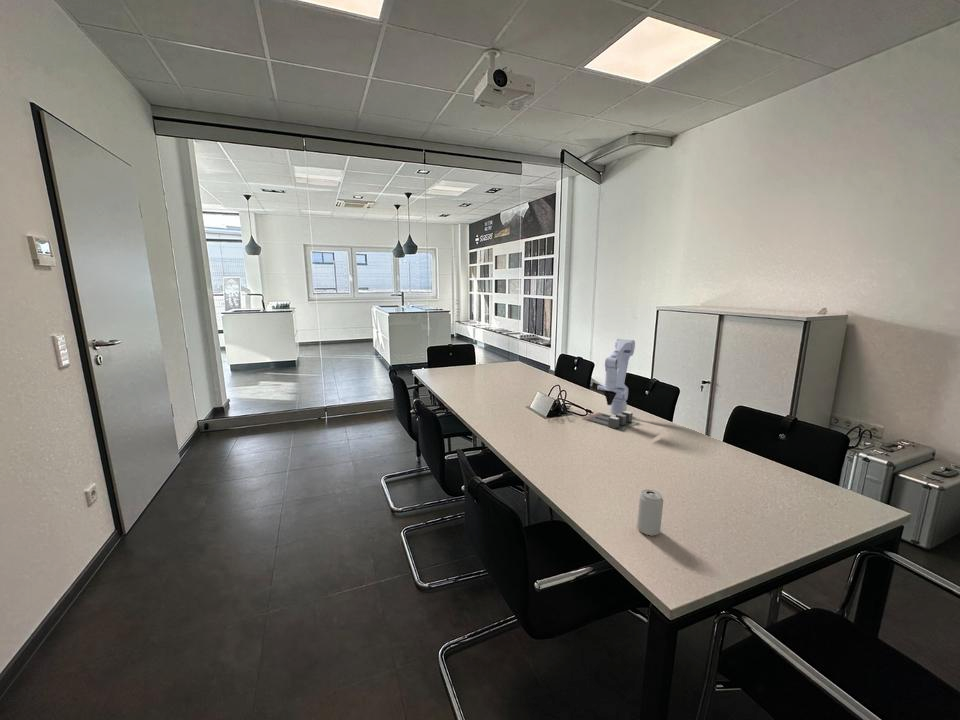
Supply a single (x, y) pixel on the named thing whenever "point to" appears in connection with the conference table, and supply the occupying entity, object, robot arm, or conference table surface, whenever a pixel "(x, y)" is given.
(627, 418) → the breaker
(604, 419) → the panel
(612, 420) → the block
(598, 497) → the conference table surface
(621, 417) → the breaker
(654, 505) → the beverage can
